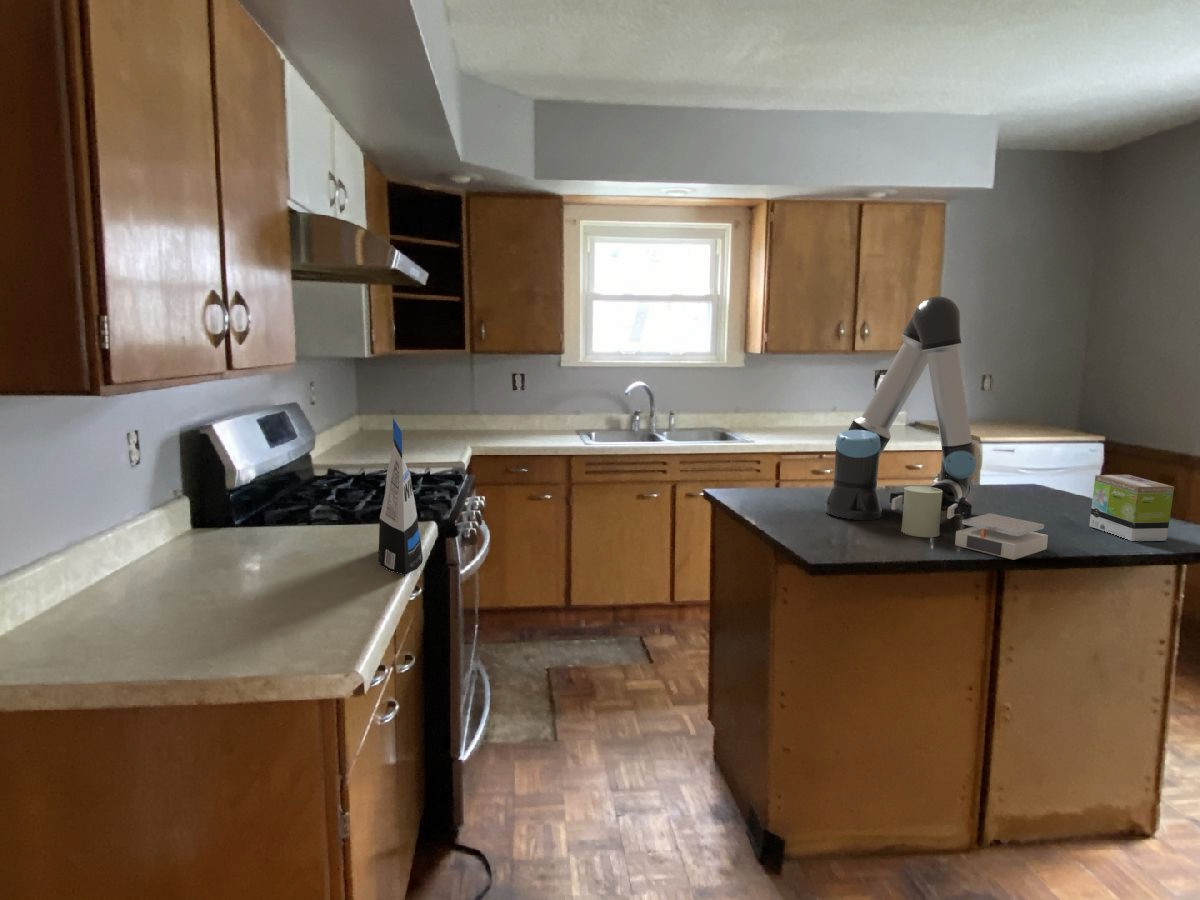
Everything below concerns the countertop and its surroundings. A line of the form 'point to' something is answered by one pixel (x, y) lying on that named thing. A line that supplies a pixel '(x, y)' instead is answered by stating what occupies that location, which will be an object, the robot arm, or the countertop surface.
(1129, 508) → the tea box
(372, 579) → the countertop surface
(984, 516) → the scale pan
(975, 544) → the scale
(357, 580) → the countertop surface
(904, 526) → the can
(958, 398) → the robot arm
